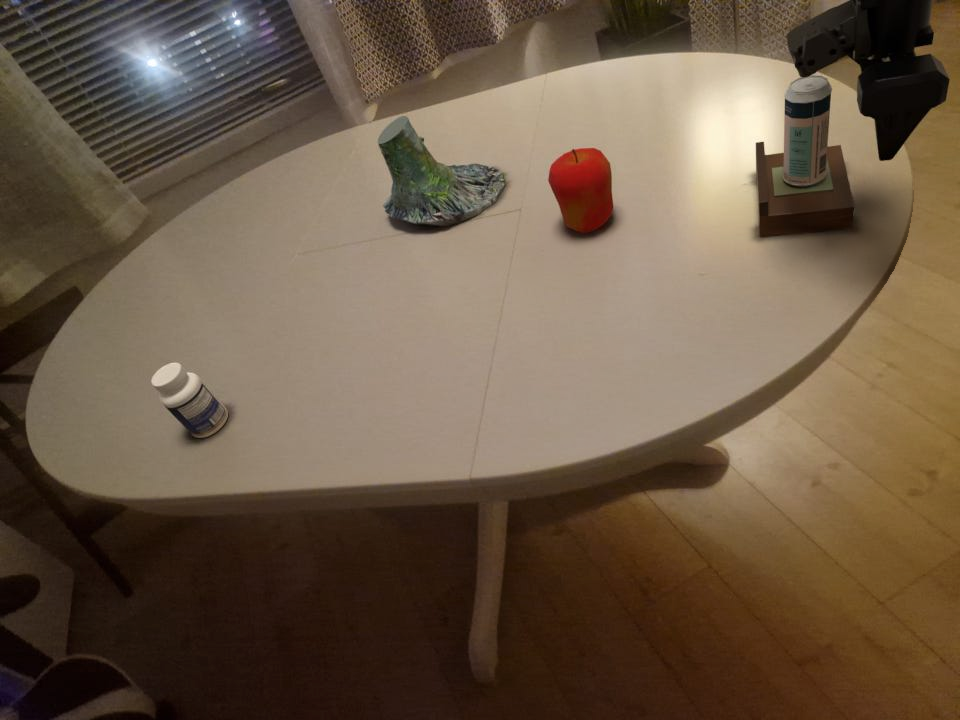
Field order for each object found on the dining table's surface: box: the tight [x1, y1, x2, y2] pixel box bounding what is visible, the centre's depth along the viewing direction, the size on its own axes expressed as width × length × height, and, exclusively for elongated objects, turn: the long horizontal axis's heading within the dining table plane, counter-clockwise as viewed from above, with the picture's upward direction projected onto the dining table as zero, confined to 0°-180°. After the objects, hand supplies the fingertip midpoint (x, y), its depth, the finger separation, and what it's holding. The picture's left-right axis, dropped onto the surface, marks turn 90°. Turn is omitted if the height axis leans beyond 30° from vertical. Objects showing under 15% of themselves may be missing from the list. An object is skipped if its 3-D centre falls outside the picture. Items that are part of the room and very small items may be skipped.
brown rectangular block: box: [755, 141, 855, 238], centre depth 81 cm, size 10×14×5 cm
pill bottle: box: [150, 362, 229, 439], centre depth 83 cm, size 5×5×10 cm
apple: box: [547, 147, 614, 234], centre depth 89 cm, size 9×8×12 cm
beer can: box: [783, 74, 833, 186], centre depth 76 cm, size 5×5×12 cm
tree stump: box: [377, 115, 506, 227], centre depth 105 cm, size 18×20×18 cm
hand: (879, 136), depth 65 cm, fingers open, 9 cm apart
